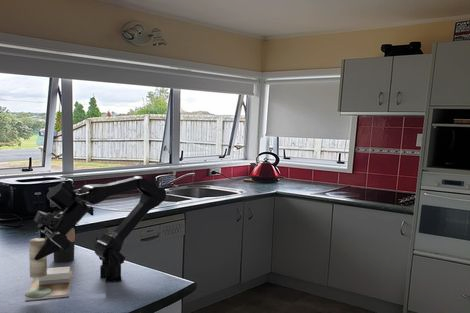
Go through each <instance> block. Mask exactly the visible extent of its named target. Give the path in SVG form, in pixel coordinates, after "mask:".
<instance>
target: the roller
mask: <svg viewBox="0 0 470 313" xmlns="http://www.w3.org/2000/svg"><path fill="white" fill-rule="evenodd" d="M28 243H29V244H28V245H29V246H28V248H29V249H28V250H29V252H28V253H29V277H30V278H32V279H34V278H40V277H44V276H46V275H47V268H48V263H47V262H48V260H47V259H48V256H45V257H43V258H41V259H39V260H35V259H34V258H35V256H36V255H37V253H38V252H39V250H40V249H41V248H42V246H43V245H44V244H45V238H39V237H37V238H32V239H30V240H29V241H28Z"/></svg>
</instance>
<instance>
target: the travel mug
mask: <svg viewBox="0 0 470 313" xmlns="http://www.w3.org/2000/svg"><path fill="white" fill-rule="evenodd" d="M64 211H65V209H59V210H55V211H53V213H52V214H54V216H56V215H57V214H59V213H60V214H62V213H63V212H64ZM75 230H76V228H75V229H74V228H73V229H72V230H71V231H70V232H69V233H68V234H67V235H66V236H67V239H68V240H69V241H71V247H70V248H69V249H68V250H67V251H66V250H65V249H64V248H62V247H61V248H62V250H59V251H56V252H54V253H53V262H54V263H57V264H67V263H71V262H73V261H74V260H75V245H76V244H75V243H76V242H75V241H76V239H75V233H76V232H75Z"/></svg>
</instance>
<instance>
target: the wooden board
mask: <svg viewBox="0 0 470 313" xmlns="http://www.w3.org/2000/svg"><path fill="white" fill-rule="evenodd" d="M73 274H74V269H70V280H69V283H64V284H52V285H41V286H39V278H33V280H32V282H31V285H30V287H29V289H28V290H26V291H25V296H26V297H25V299H28V300H25V303H29V302H31V303H32V302H42V301H50V300H52V301H53V300H63V299H70V296H66V295H70V289H71V284H72V279H73ZM53 296H54V297H53ZM57 296H58V297H57ZM44 297H46V298H44ZM33 298H36V299H33Z"/></svg>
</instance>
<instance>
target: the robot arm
mask: <svg viewBox="0 0 470 313" xmlns="http://www.w3.org/2000/svg"><path fill="white" fill-rule="evenodd" d="M134 190H138V191H139V192H140V193H141V194H140V197H139V202H138V203H137V204H136V206H134V208H133V209H132V210H131V211H130V212H129V213H128V215H126V217H125V218H124V219H123V220H122V222H120V223H119V224H118V225H117V227H116V228H115V230H114V231H112V232H111V233H109V234H108V233H106V232H104V233H103V234H102V235H101V237H100V238H99V239H98V240H96V244H95V246H94V254H95V256H97V257H98V259H99V260H100V261H101V264H100V266H99V268H100V269H99V270H100V273H99V274H100V275H99V277H100V279H105V283H115V282H121V281H122V264H124V263H125V260H126V256H124V255H123V254H122V253H121V251H122V249H123V245H124V241H125V240H126V238H128V236H130V234H131V232H133V231H134V229H135V228H136V227H137V226H138V225H139V224H140V222H141V221H142V220H143V219H144V217H146V215H147V214H148V213H149V212H150V211H151V210H153V209H154V208H157V207H159V206H160V205H161V204H162V203H164V202H165V200H166V198H167V193H166V190H165V189H164V187H161V186H158V185H156V184H154V183H152V182H151V181H150V180H148V179H147V178H146V177H145V176H139V175H134V176H133V177H129V178H126V179H121V180H116V181H113V182H109V183H102V184H101V183H99V184H96V183H95V184H85V185H82V186H81V188H78V189H75V190H73V189H72V188H71V187H70V186H69V185H68V183H66V182H64V181H61V182H60V183H59V184H57V185H55V186H54V187H51V188H50V190H49V191H48V192H47V193H46V198H47V199H48V200H49V201H50V202H51V203H53V204H54V205H55V206H56V207H58V208H59V210H65V211H64V212H63V213H62V214H60V213H59V214H57V215H56V216H54V214H53V213H51V212H45V211H41V210H37V212H36V215H35V217H34V219H33V221H34V222H35V223H37V226H36V228H38V230H37V231H38V238H45V244H44V245H43V246H42V248H41V249H40V250H39V252H38V253H37V255H36V256H35V258H34V259H35V260H39V259H41V258H43V257H45V256H47V257H48V256H49V255H52V254H54V252H56V251H59V250H62V248H64V249H65V250H66V251H67V250H68V249H69V248H70V247H71V241H69V240H68V239H67V236H66V235H67V234H68V233H69V232H70V231H71V230H72V229H73V228H74V229H75V230H76V228H78V227H77V224H78V223H79V222H80V221H81V220H82V219H83V218H84V216H86V214H89V215H90V216H94V207H93V206H92V205H97V204H99V203H101V202H104V201H106V200H107V199H108V198H110V197H112V196H116V195H119V194H123V193H126V192H130V191H134ZM77 199H79V200H81V201H78V200H77ZM85 202H86V203H88V204H91V205H88V204H86V203H85ZM61 247H62V248H61Z"/></svg>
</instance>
